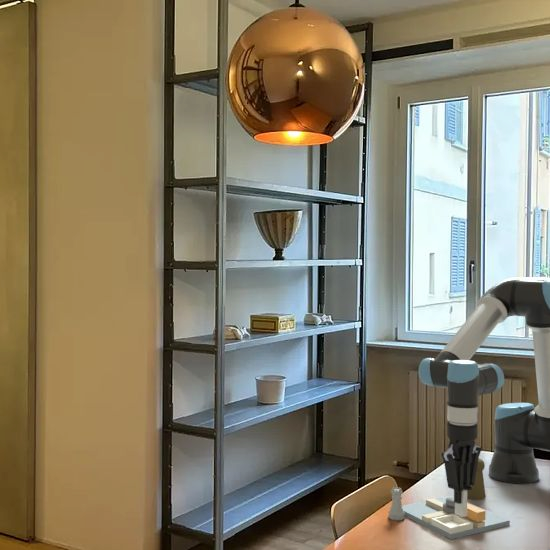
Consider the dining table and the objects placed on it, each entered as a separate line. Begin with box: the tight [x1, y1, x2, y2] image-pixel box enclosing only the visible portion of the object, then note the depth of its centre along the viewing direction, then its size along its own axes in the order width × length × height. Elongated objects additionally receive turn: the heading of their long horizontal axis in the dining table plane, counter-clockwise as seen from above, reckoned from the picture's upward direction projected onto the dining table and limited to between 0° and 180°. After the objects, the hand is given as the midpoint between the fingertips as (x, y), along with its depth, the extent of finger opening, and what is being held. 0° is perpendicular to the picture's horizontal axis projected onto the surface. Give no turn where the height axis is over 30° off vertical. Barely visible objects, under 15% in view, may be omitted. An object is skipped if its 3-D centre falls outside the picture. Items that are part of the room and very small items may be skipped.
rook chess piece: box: [387, 486, 406, 522], centre depth 194 cm, size 4×4×8 cm
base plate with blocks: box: [402, 495, 510, 540], centre depth 195 cm, size 20×22×4 cm
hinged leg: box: [446, 497, 486, 522], centre depth 190 cm, size 12×4×2 cm, turn 28°
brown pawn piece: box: [468, 458, 487, 501], centre depth 212 cm, size 6×6×11 cm
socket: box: [431, 514, 473, 534], centre depth 185 cm, size 7×7×2 cm
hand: (460, 514), depth 183 cm, fingers closed
